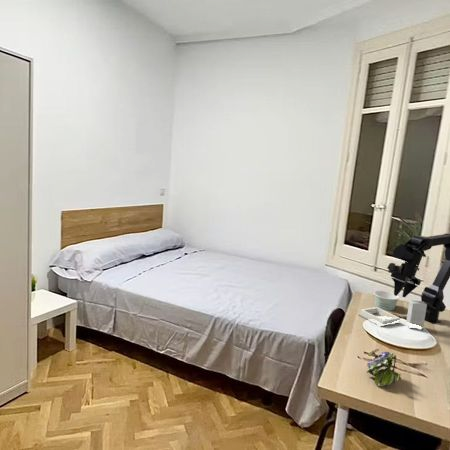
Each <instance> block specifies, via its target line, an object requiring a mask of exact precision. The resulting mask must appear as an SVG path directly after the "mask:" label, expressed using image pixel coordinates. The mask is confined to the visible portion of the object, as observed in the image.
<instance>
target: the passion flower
mask: <svg viewBox="0 0 450 450" xmlns="http://www.w3.org/2000/svg"><path fill="white" fill-rule="evenodd" d="M379 350H380V348H376V349H373V350H371V351H370V352H369V353H368V354H367V356H373V355H374V357H373V358H371V359H370V361H369V362H367V365H366V367H368V369H367V370H365V371H366V373H367V374H368V373H371V374H372V373H373V375H375V376H374V378H375V379H374V384H375V385H376V387H378V386H379V383H380V382H381V384H380V386H381V387H383V386H386V385H387V386H389V385H391V384H392V383H393V382H394V384H395V383H396V382H399V381H402V377H401V376H402V374H401V373H399V372H396V371H395V368H396V361H397V355H396V353H394V352H391V353H390V352H389V351H383V352H381V353H380V354H376V352H378V351H379ZM393 360H394V362H393ZM392 366H393V367H392ZM391 368H392V369H391Z"/></svg>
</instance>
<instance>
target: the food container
mask: <svg viewBox="0 0 450 450" xmlns="http://www.w3.org/2000/svg"><path fill="white" fill-rule="evenodd" d="M373 295H374V306H375V307H378V308H380V309H382V310H384V311H394V310H395V309H396V305H397V303H398V300H399V299H400V296H399V294H398V295H397V296H395V295H394V292H390V291H386V290H375V291H373Z"/></svg>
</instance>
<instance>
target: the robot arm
mask: <svg viewBox="0 0 450 450" xmlns="http://www.w3.org/2000/svg"><path fill="white" fill-rule="evenodd" d="M441 245H443V248H445V251H444V256H445V259H444V261H443V262H442V264H441V266H440V269H439V270H438V272H437V274H436V277H435V278H434V280H433V282H432V284H431V285H429V286H425V287H424V289H423V292H421V295H420V299H421V300H420V301H423V302H424V303H425V304H427V308H426V314H425V320H424V321H426V322H429V323H431V324H436V323H441V322H442V320H441V319H439V316H440V313H442V312H444V311H446V308H447V307H446V305H445V302H444V298H445V297H444V289H445V288H446V285H447V283H448V281H449V279H450V233H443V234H437V235H430V236H424V235H423V236H422V235H413V236H412V237H410V238H409V240H408V241H406V242H405V243H399V245H397V246H396V247H395V248H394V249H393V251H392V254H393V257H394V258H396V259H397V260H398V259H399V260H401V261H404V262H402V263H401V265H398V264H397V265H396V263H395V262H390V263H389V264H388V266H387V267H386V269H388V273H390V277H391V279H392V281H393V282H394V284H393V285H394V286H393V289H394V290H393V293H394V295H395V296H397V295H398V296H399V294H400V293H401V291H402V290H403V291H402V295H401V297H402V298H406V297H407V296H408V295H409V294H410V293H411V292H412V291H414V290H415V289H416V288H418V286H420V285H421V282H422V281H421V279H420V278H418V277H417V276H416V274H417V272H418V271H420V268H419V267H420V264H421V261H422V258H426V257H427V255H426V253H425V252H426V251H429V250H431V249H432V247H436V246H441Z"/></svg>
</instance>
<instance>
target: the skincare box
mask: <svg viewBox="0 0 450 450" xmlns="http://www.w3.org/2000/svg"><path fill="white" fill-rule="evenodd" d="M426 308H427V304H425V303H424V302H423V301H421V300H411V299H409V302H408V307H407V315H406V321H407V322H409V323H412V324H416V325H419V326H421V327H423V328H424V326H425V325H424V324H425V321H426V320H425V314H426ZM406 321H405V322H406Z"/></svg>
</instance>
